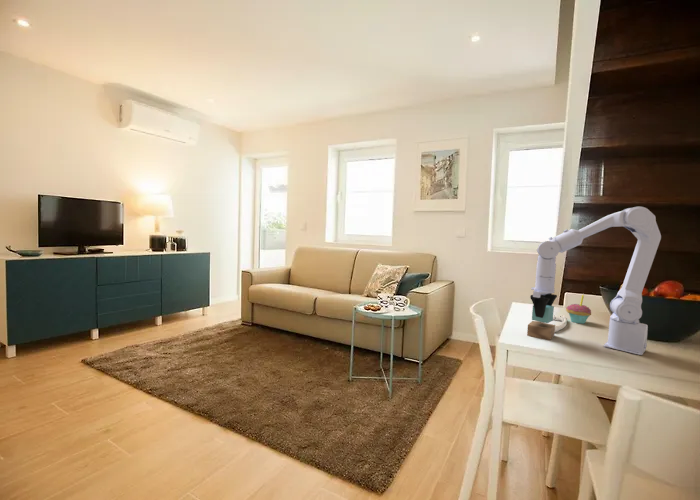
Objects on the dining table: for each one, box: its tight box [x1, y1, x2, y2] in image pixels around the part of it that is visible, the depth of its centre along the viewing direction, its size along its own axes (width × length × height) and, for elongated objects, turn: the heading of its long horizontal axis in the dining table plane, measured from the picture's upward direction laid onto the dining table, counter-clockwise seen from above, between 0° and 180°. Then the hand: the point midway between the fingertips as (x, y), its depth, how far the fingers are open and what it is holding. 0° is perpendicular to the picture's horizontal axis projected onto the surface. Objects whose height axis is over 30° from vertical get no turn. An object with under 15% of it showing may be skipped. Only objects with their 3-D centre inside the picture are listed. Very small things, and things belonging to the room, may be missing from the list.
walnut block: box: [526, 320, 556, 341], centre depth 120 cm, size 7×7×4 cm
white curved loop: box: [536, 314, 568, 333], centre depth 134 cm, size 3×10×25 cm
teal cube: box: [531, 305, 555, 324], centre depth 119 cm, size 5×5×5 cm
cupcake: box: [565, 293, 592, 325], centre depth 139 cm, size 9×8×12 cm
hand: (542, 315), depth 119 cm, fingers closed on teal cube, 5 cm apart
